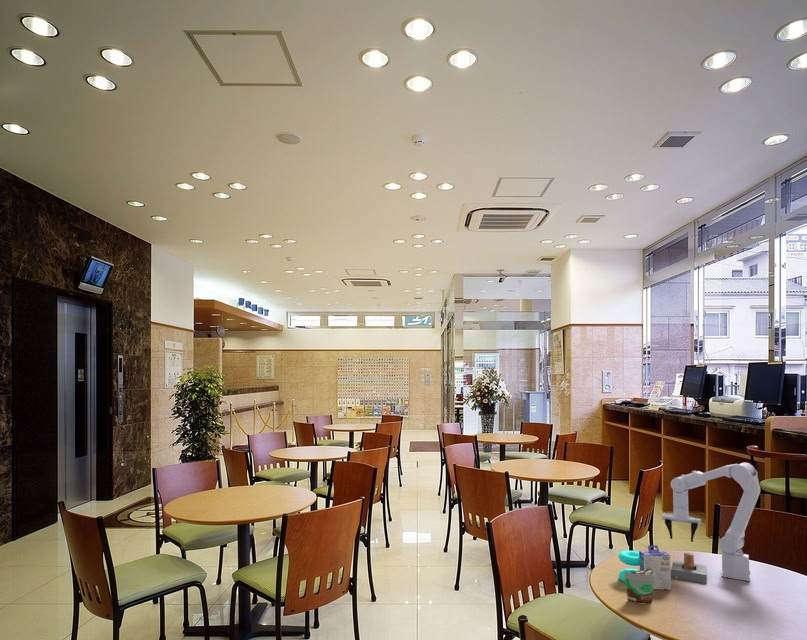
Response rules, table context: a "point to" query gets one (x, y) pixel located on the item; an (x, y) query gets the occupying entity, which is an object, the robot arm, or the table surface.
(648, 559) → the ink cartridge box
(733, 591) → the table surface
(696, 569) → the socket block
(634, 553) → the donuts
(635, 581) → the food container
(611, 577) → the table surface
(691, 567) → the peg
